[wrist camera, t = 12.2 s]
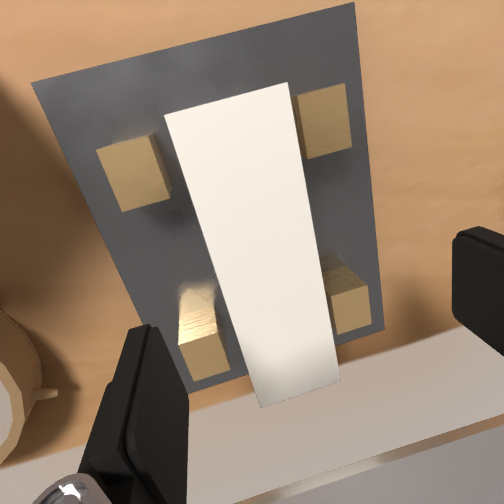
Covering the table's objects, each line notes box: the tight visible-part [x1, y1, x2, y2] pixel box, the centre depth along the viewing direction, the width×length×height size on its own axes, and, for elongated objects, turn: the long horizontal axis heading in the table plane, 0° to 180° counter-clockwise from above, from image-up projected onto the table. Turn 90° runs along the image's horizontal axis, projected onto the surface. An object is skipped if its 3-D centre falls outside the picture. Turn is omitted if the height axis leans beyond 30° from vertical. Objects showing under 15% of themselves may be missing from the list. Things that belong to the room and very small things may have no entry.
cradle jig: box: [31, 2, 385, 394], centre depth 17 cm, size 14×18×4 cm
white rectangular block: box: [164, 82, 341, 408], centre depth 15 cm, size 4×13×5 cm, turn 14°
